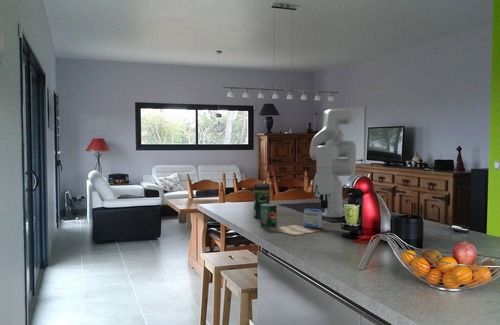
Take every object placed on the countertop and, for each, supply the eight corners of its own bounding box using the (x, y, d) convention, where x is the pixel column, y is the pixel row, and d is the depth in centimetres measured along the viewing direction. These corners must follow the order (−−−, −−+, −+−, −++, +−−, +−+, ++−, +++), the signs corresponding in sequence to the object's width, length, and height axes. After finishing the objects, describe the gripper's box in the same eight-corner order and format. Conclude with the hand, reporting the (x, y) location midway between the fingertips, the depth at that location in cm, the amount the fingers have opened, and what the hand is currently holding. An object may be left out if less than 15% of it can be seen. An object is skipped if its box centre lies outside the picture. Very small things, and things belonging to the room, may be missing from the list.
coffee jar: (269, 215, 256) (269, 182, 255) (271, 217, 248) (271, 183, 247) (252, 215, 255) (251, 182, 254) (254, 218, 247) (254, 184, 246)
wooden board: (295, 225, 225) (295, 224, 225) (320, 231, 210) (320, 230, 210) (269, 229, 216) (269, 228, 216) (293, 235, 201) (293, 234, 201)
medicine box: (302, 226, 219) (303, 208, 220) (306, 226, 223) (306, 208, 223) (318, 228, 215) (319, 209, 216) (321, 227, 219) (322, 209, 220)
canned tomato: (275, 228, 218) (275, 205, 218) (259, 227, 220) (259, 205, 219) (277, 225, 226) (277, 203, 226) (262, 224, 228) (262, 203, 227)
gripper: (329, 170, 230) (329, 206, 230) (307, 171, 221) (307, 208, 222) (340, 170, 223) (340, 208, 224) (318, 171, 215) (318, 210, 215)
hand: (324, 208), depth 223 cm, fingers closed
